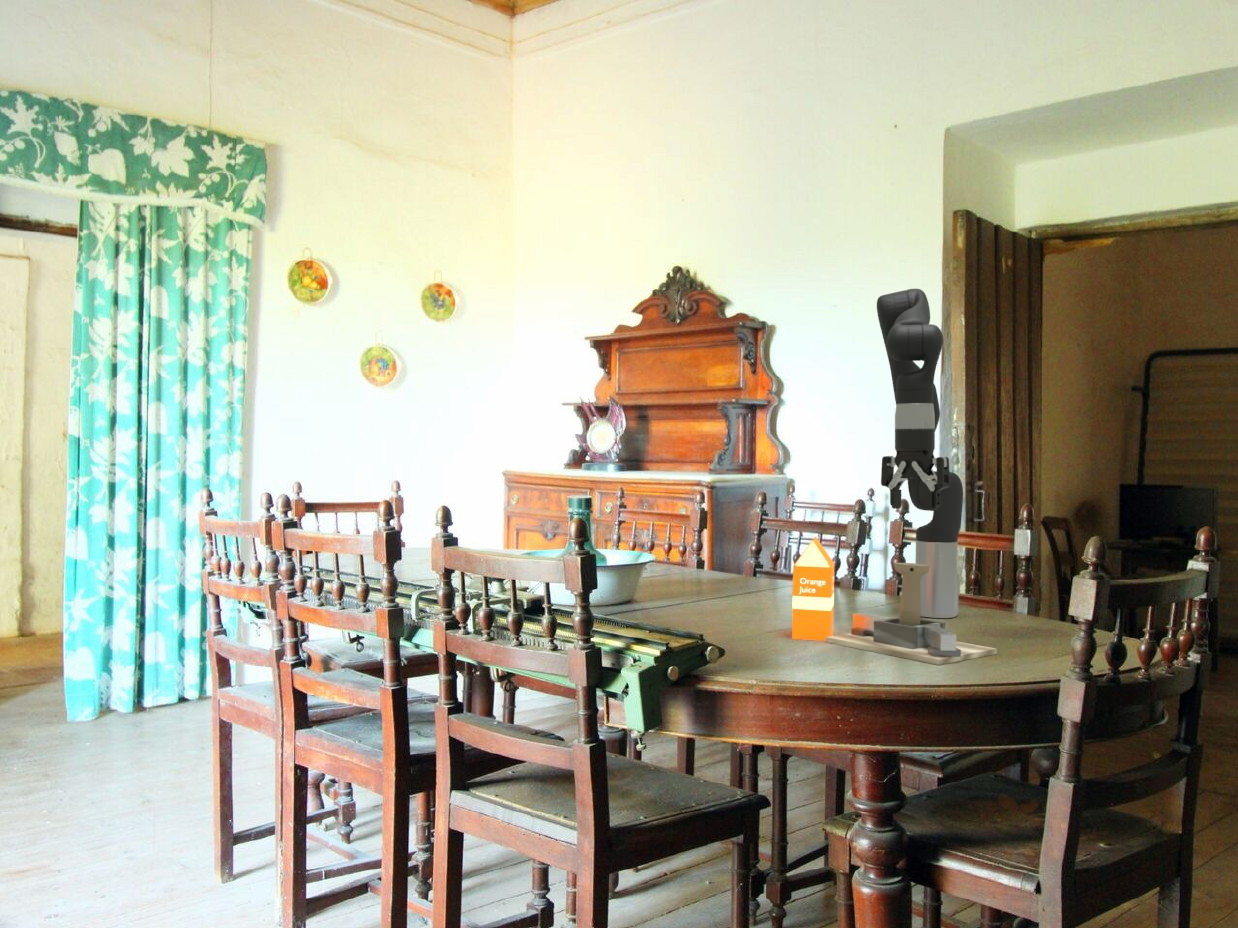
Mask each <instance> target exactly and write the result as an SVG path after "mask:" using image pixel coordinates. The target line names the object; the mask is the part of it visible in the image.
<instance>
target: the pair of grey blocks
mask: <svg viewBox="0 0 1238 928" xmlns="http://www.w3.org/2000/svg"><path fill="white" fill-rule="evenodd" d="M891 618H893V616H886V615H885V616H884V615H878V614H874V613H867V612H855V613H852V627H851V629H850V631H851V632H850V633H851V634H852V635H857V636H862V637H865V636H871V635H874V621H877V620H878V621H879V620H884V619H891ZM923 626H924V637H923V641H924V642H926V643H928V644H930V645H932V646H933V647H928V654H930V655H932V656H940V657H961V650H960V649H958V648H956V641H957V634H955V633H953V632H951V631H949V630H947V629H946V628H945V629H943V628H941V627H939V626H937V625H923Z"/></svg>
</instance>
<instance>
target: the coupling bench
mask: <svg viewBox="0 0 1238 928" xmlns="http://www.w3.org/2000/svg"><path fill="white" fill-rule="evenodd" d="M920 620H921V621H920V625H918V626H913V627H912V626H906V625H901V624H899V622H900V621H899V616H898V617H892V618H891V619H884V620H879V621H878V620H877V621H874V635H871V636H865V637H862V636H857V635H852V634H851V632H850V633H849V632H848V633H843V634H837V635H832V636H828V637H826V641H825V643H828V644H829V643H830V644H833V645H838V646H844V647H848V648H853V649H857V650H859V649H860V650H862V651H868V652H873V653H874V652H875V653H877V654H883V655H887V656H888V655H889V656H891V657H892V656H893V657H898V658H903V659H907V660H912V661H916V662H922V663H927V664H930V665H931V664H932V665H935V666H936V665H937V666H942V665H946V664H952V663H956V662H961V661H966V660H973V659H978V658H983V657H987V656H988V657H989V656H993V655H997V649H998V648H994V647H991V646H984V645H977V644H973V643H968V642H962V641H961V642H960V641H957V640H956V648H958V649H960V650H961V657H940V656H932V655H930V654H928V647H933V646H932V645H930V644H928V643H926V642H924V641H923V637H924V626H923V625H937V626H939V627H941V628H943V629H945V630H946V622H942V621H936V620H930V619H923V618H921V619H920Z"/></svg>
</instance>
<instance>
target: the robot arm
mask: <svg viewBox="0 0 1238 928" xmlns="http://www.w3.org/2000/svg"><path fill="white" fill-rule="evenodd" d="M876 312H877V318H878V322H879V327H880V331H881V335H882V339H883V342H884V347H885V351H886V356H887V359H888V364H889V369H890V374H891V381H892V389H893V394H894V401H895V413H894V449H895V452H896V455H895V456H893V455H892V456H891V455H884V456H882V458H881V473H880V474H881V475H880V476H881V477H880V485H881V486H882V487H886V488H888V489H889V494H890V495H889V502H890V503H889V504H890V506H891V508H892V509H894V510H895V509H901V508H902V489H901V488H902V486H903V484H904V483H905V481H907V488H908V493H909V498H910V502H911V503H912V505H913V506H914V507H915V508H916V509H918V510H921V511H926V512H927V511H928V512H933V514H932V519H931V520H930V522H928V523H927V524H926V523H925V525H921V526H919V527H918V528H916V531H915V564H926V565H930V566H929V572H928V573H926V574H924V575H922V576H921V581H920V596H921V616H920V617H923V618H925V617H926V618H932V619H933V618H934V619H951V618H955V617H956V616H958V615H959V597H960V596H959V595H960V593H959V589H960V586H959V584H960V583H959V581H960V575H959V574H958V546H959V545H958V539H959V533H960V531H961V528H962V527H961V526H962V518H963V517H962V515H963V505H964V501H963V500H964V488H963V487H964V486H963V483H962V480H961V478H960V477H959V475H958V474H956V472H952V471H951V470H950V458H949V457H948V456H939V457H935V456H934V451H935V449H936V443H935V441H936V439H935V437H936V435H935V433H936V431H937V427H938V424H939V421H940V417H941V416H940V415H941V411H940V402H939V398H938V392H937V391H938V390H937V387H936V385H935V383H934V381H935V374H936V369H937V366H938V365H937V364H938V362H939V359H940V356H941V353H942V349H943V344H944V335H943V333H942V332H943V331H942V330H941V328H940V327H939V326H937V325H936V324H930V323H931V322H930V321H931V310H930V305H929V300H928V297H927V294H926V293H925V292H924V290H922V289H921V288H910V289H905V290H900V291H895V292H890V293H886V294H883V295H879V297H878V298H877V300H876ZM918 361H922V362H923V365H922V367H919V366H918V364H917V363H916V362H918ZM895 467H897V470H896V471H894V470H895ZM934 467H935V469H936V471H935V470H933V468H934Z"/></svg>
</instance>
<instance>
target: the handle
mask: <svg viewBox="0 0 1238 928" xmlns="http://www.w3.org/2000/svg"><path fill="white" fill-rule="evenodd" d="M929 566H930V565H926V564H915V563H914V562H912V563H911V562H894V570H895V571H896V572H897V573H898V574H900V575H901V579H902V581H901V582H902V583H901V594H900V603H899V604H900V605H899V612H898V614H899V615H898V617H899V621H900V622H899V624H901V625H906V626H912V627H913V626H918V625H920V621H921V620H920V619H922V618H921V617H922V616H921V596H920V581H921V576H922V575H924V574H926V573H928V572H929Z"/></svg>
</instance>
